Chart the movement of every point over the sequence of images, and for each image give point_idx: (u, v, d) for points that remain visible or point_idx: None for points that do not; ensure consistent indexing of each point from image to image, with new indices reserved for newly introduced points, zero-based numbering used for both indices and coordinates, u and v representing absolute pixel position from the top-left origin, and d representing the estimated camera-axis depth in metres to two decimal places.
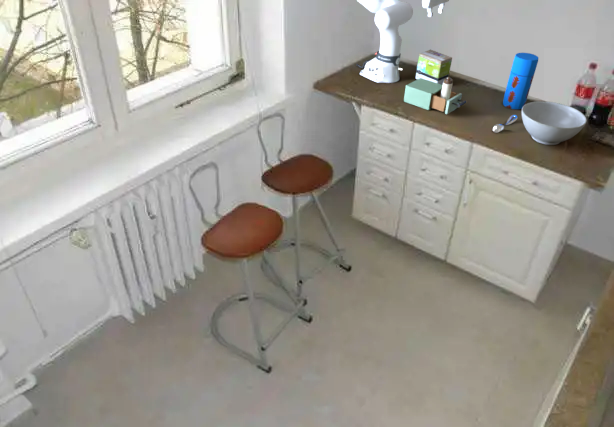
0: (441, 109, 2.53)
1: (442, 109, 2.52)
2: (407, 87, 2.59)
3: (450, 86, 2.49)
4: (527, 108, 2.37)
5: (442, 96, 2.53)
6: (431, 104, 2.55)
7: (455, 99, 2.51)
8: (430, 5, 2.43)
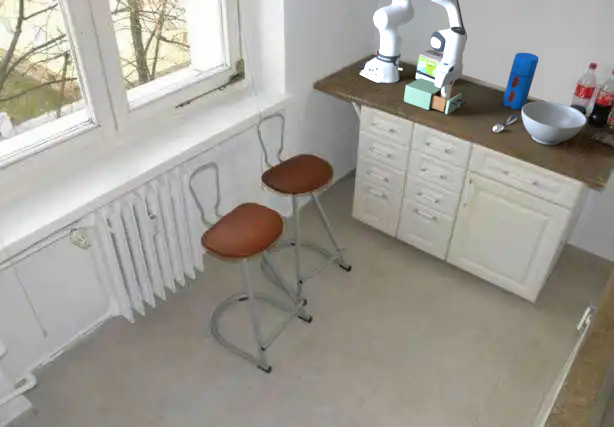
0: (441, 109, 2.53)
1: (442, 109, 2.52)
2: (407, 87, 2.59)
3: (450, 86, 2.49)
4: (527, 108, 2.37)
5: (442, 96, 2.53)
6: (431, 104, 2.55)
7: (455, 99, 2.51)
8: (442, 85, 2.43)
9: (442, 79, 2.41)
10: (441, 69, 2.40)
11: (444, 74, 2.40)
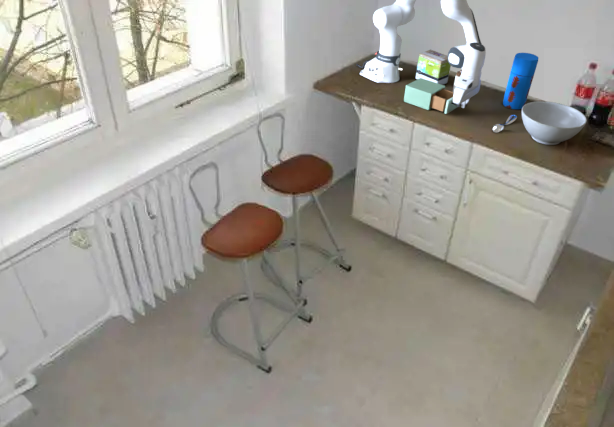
0: (440, 109, 2.53)
1: (441, 109, 2.53)
2: (407, 87, 2.59)
3: None
4: (527, 108, 2.37)
5: None
6: (430, 104, 2.55)
7: None
8: (461, 101, 2.41)
9: (461, 96, 2.38)
10: (460, 85, 2.37)
11: (463, 90, 2.37)
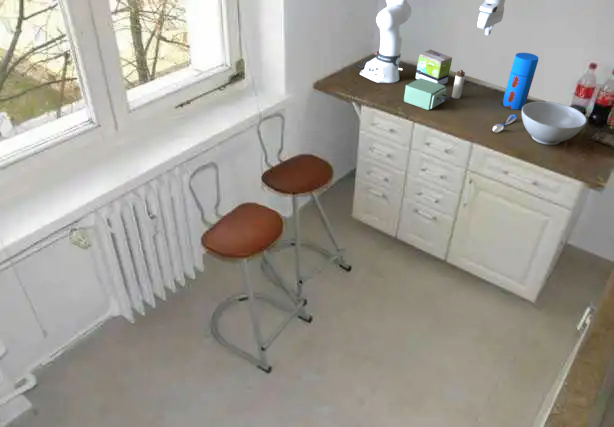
0: None
1: None
2: (407, 87, 2.59)
3: (462, 79, 2.62)
4: (527, 108, 2.37)
5: (455, 88, 2.66)
6: None
7: (439, 94, 2.56)
8: (485, 26, 2.45)
9: (485, 20, 2.43)
10: (484, 9, 2.42)
11: (487, 14, 2.42)
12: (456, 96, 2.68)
